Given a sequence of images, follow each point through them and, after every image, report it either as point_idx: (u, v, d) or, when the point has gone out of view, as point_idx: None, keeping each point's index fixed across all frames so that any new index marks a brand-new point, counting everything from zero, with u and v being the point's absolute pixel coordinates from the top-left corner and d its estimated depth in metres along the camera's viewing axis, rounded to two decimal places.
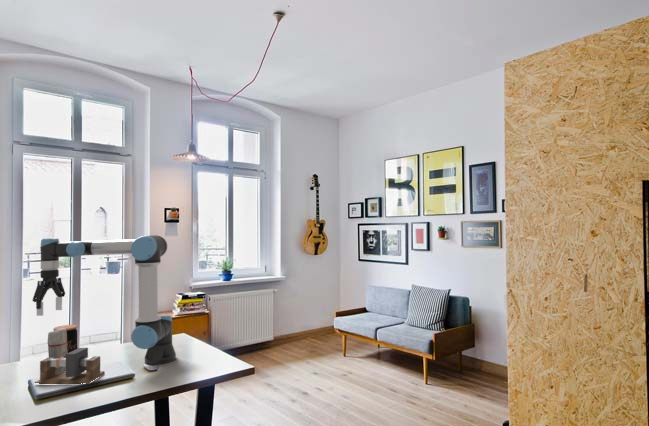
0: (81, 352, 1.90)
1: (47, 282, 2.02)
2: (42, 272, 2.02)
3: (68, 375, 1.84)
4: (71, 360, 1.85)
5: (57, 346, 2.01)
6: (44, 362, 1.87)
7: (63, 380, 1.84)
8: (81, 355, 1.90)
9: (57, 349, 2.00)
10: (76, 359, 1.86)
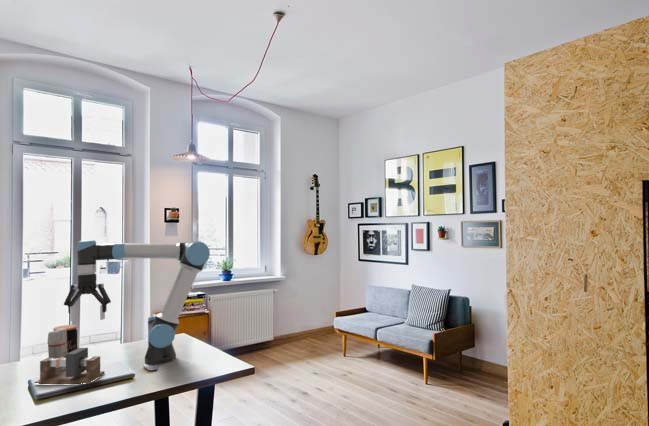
0: (81, 352, 1.90)
1: (79, 287, 1.91)
2: None
3: (68, 375, 1.84)
4: (71, 360, 1.85)
5: (57, 346, 2.01)
6: (44, 362, 1.87)
7: (63, 380, 1.84)
8: (81, 355, 1.90)
9: (57, 349, 2.00)
10: (76, 359, 1.86)
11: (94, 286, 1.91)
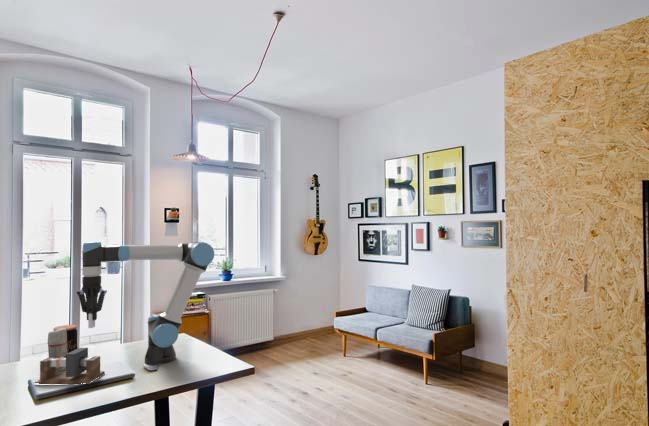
0: (81, 352, 1.90)
1: (84, 289, 1.90)
2: None
3: (68, 375, 1.84)
4: (71, 360, 1.85)
5: (57, 346, 2.01)
6: (44, 362, 1.87)
7: (63, 380, 1.84)
8: (81, 355, 1.90)
9: (57, 349, 2.00)
10: (76, 359, 1.86)
11: (98, 288, 1.90)
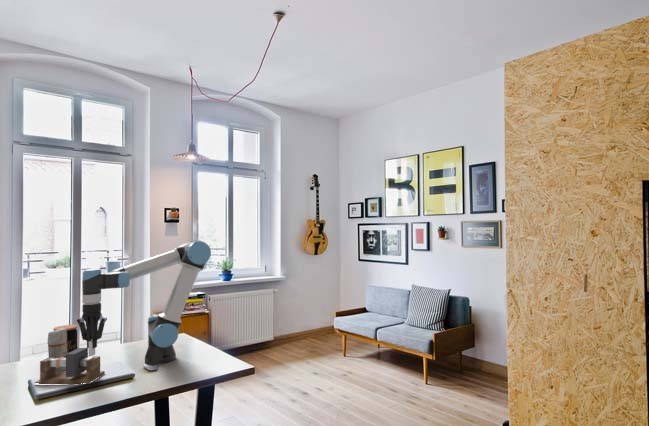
0: (81, 352, 1.90)
1: (84, 317, 1.89)
2: None
3: (68, 375, 1.84)
4: (71, 360, 1.85)
5: (57, 346, 2.01)
6: (44, 362, 1.87)
7: (63, 380, 1.84)
8: (81, 355, 1.90)
9: (57, 349, 2.00)
10: (76, 359, 1.86)
11: (98, 316, 1.89)
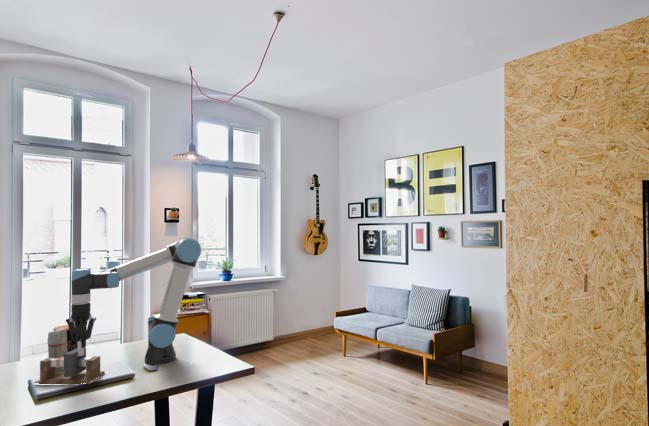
0: None
1: (73, 316, 1.89)
2: None
3: (66, 375, 1.84)
4: (69, 360, 1.85)
5: (57, 346, 2.01)
6: (44, 362, 1.87)
7: (63, 380, 1.84)
8: None
9: (57, 349, 2.00)
10: (74, 359, 1.86)
11: (88, 316, 1.89)
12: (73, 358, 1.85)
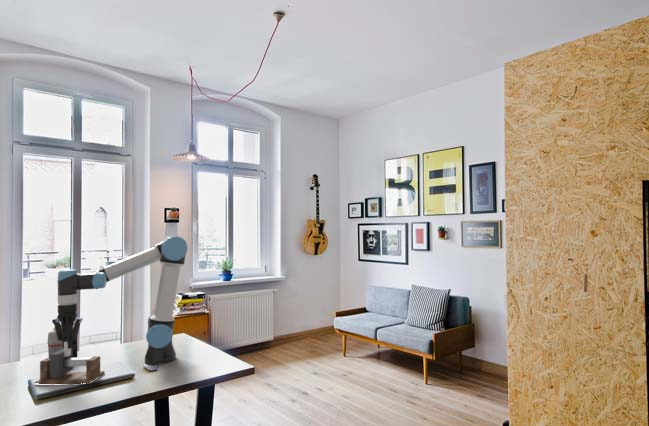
0: None
1: (59, 317, 1.89)
2: None
3: (52, 375, 1.85)
4: (55, 361, 1.85)
5: (57, 346, 2.01)
6: (44, 362, 1.87)
7: (63, 380, 1.84)
8: None
9: (57, 349, 2.00)
10: (60, 359, 1.86)
11: (74, 316, 1.89)
12: (59, 358, 1.85)
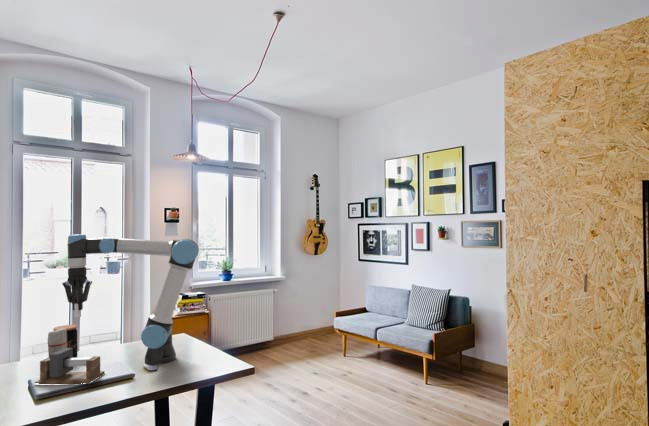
0: (66, 352, 1.90)
1: (69, 280, 1.95)
2: None
3: (52, 375, 1.85)
4: (55, 361, 1.85)
5: (57, 346, 2.01)
6: (44, 362, 1.87)
7: (63, 380, 1.84)
8: (65, 355, 1.90)
9: (57, 349, 2.00)
10: (60, 359, 1.86)
11: (84, 279, 1.96)
12: (59, 358, 1.85)
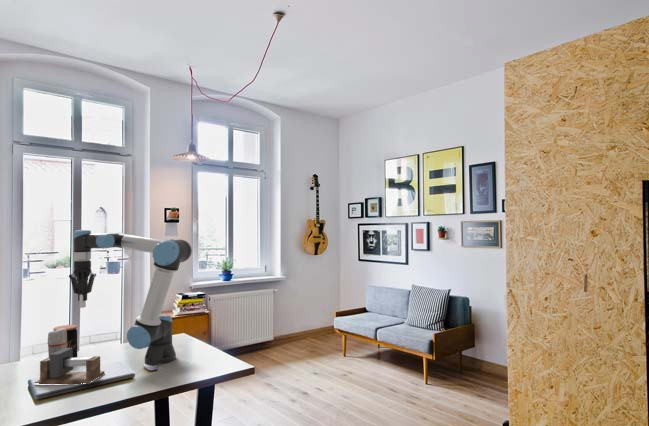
0: (66, 352, 1.90)
1: (75, 272, 2.09)
2: None
3: (52, 375, 1.85)
4: (55, 361, 1.85)
5: (57, 346, 2.01)
6: (44, 362, 1.87)
7: (63, 380, 1.84)
8: (65, 355, 1.90)
9: (57, 349, 2.00)
10: (60, 359, 1.86)
11: (88, 272, 2.09)
12: (59, 358, 1.85)
